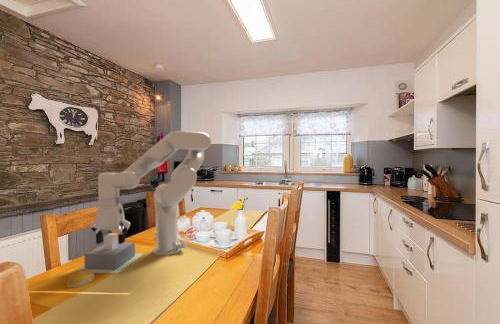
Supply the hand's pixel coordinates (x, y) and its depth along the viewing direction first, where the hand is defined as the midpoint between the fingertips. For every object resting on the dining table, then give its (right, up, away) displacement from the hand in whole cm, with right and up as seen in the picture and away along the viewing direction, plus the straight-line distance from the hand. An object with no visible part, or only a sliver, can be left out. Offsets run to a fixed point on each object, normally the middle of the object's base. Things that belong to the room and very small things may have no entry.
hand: (110, 242), depth 99 cm
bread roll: (-2, -9, -15) cm, 17 cm away
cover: (0, -8, 0) cm, 8 cm away
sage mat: (0, -9, 0) cm, 9 cm away
